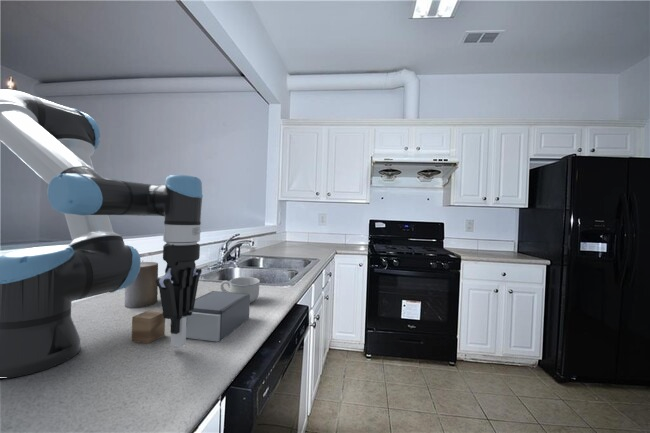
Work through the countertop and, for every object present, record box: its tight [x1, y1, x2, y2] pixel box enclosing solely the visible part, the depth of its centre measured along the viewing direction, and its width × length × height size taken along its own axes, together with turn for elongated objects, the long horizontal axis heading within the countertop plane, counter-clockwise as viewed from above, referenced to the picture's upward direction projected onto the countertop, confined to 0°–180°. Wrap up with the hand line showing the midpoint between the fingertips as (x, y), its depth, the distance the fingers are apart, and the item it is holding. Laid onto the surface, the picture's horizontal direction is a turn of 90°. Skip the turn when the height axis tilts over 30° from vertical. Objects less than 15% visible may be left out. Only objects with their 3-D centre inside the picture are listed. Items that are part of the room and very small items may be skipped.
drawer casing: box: [190, 290, 251, 341], centre depth 79 cm, size 16×12×8 cm
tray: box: [186, 311, 221, 342], centre depth 76 cm, size 12×12×6 cm
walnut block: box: [131, 309, 166, 344], centre depth 70 cm, size 5×5×6 cm
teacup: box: [220, 276, 261, 304], centre depth 102 cm, size 14×11×8 cm
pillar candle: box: [124, 260, 159, 309], centre depth 96 cm, size 10×10×15 cm
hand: (178, 345), depth 64 cm, fingers closed
